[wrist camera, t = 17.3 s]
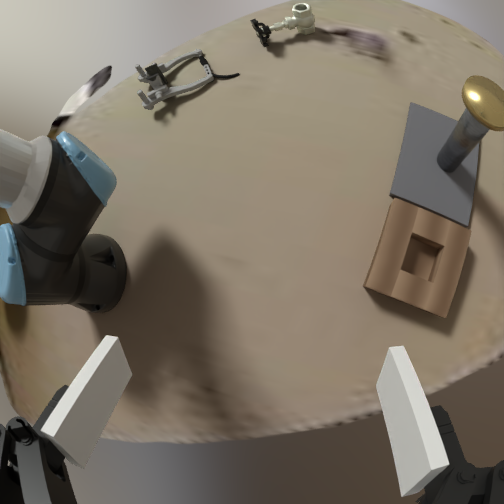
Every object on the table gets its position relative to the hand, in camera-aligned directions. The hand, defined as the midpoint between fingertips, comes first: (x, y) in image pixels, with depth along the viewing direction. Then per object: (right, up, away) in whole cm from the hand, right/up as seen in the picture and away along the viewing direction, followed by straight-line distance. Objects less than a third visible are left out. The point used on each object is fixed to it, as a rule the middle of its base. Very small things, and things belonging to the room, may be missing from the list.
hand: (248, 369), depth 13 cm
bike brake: (-13, +42, +38) cm, 58 cm away
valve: (+8, +49, +33) cm, 59 cm away
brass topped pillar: (+29, +19, +21) cm, 41 cm away
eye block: (+23, +4, +23) cm, 32 cm away
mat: (+29, +19, +23) cm, 41 cm away
